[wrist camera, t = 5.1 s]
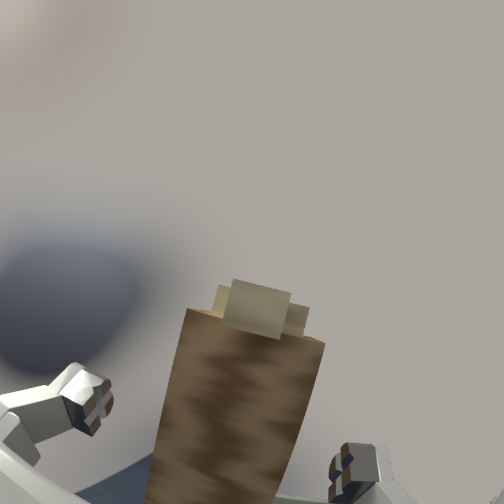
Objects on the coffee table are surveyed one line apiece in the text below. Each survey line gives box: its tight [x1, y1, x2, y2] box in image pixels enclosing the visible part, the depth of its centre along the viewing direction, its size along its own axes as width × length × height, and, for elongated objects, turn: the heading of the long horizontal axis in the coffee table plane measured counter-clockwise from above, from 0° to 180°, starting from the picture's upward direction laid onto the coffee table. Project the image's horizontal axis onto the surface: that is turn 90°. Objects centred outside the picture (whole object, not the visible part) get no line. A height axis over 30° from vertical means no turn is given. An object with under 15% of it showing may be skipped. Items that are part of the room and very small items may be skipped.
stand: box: [144, 308, 325, 504], centre depth 24 cm, size 11×8×26 cm
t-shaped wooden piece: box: [211, 279, 309, 340], centre depth 22 cm, size 15×8×2 cm, turn 178°
